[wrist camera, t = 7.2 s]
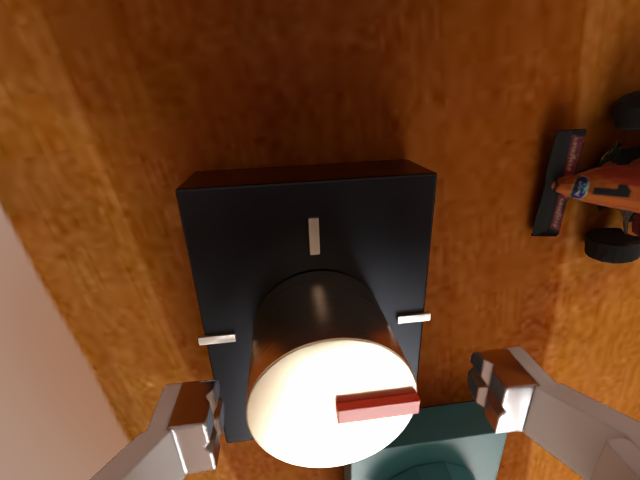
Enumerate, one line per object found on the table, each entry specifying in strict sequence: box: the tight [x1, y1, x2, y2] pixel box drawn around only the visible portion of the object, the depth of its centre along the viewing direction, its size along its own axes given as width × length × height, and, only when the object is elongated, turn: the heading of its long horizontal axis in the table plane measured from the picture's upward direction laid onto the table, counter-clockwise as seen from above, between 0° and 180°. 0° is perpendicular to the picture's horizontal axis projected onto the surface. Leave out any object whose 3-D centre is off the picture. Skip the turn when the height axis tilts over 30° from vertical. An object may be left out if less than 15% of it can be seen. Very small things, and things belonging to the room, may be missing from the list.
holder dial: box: [246, 271, 420, 468], centre depth 12 cm, size 5×5×4 cm
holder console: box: [176, 159, 437, 443], centre depth 15 cm, size 12×9×3 cm
